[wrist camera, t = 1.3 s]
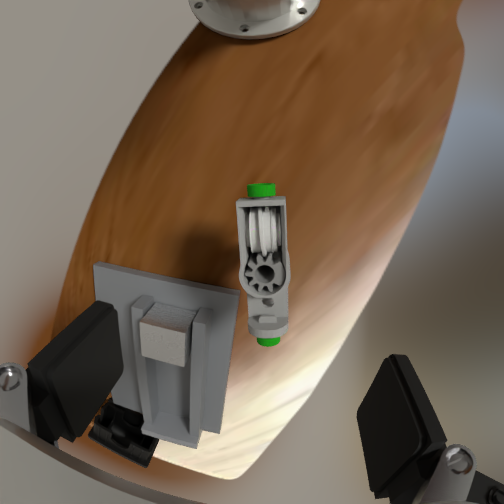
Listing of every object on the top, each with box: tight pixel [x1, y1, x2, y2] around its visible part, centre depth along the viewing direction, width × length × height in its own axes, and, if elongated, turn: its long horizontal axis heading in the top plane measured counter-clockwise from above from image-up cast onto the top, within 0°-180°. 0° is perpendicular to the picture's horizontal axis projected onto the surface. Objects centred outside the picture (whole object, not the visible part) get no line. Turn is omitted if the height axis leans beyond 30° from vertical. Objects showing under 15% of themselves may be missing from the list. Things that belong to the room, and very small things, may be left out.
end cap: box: [88, 398, 159, 468], centre depth 34 cm, size 10×7×7 cm
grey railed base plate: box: [93, 261, 240, 449], centre depth 30 cm, size 22×16×5 cm
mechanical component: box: [236, 183, 290, 347], centre depth 22 cm, size 3×10×10 cm, turn 3°
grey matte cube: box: [140, 303, 197, 367], centre depth 27 cm, size 4×4×4 cm
